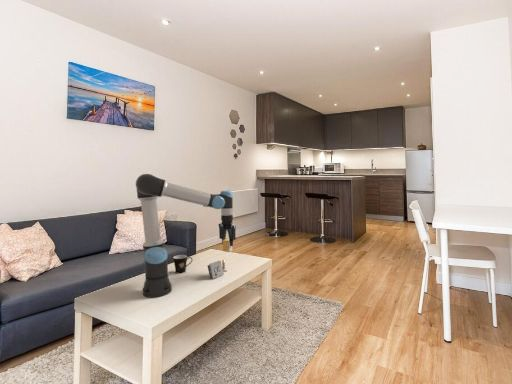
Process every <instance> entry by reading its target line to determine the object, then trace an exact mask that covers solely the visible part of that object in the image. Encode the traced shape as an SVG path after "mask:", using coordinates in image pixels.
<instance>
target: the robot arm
mask: <svg viewBox="0 0 512 384" xmlns="http://www.w3.org/2000/svg"><path fill="white" fill-rule="evenodd" d="M135 188H136V196H137V199H138V200H139V201H140V207H141V215H142V223H143V224H142V225H143V233H144V234H143V235H144V242H143V243H142V250H143V260H144V273H145V274H144V276H145V277H144V278H145V280H144V284H143V286H142V296H144V297H145V298H146V297H147V298H158V297H163V296H166V295H168V294H170V293H171V292H172V291H173V289H172V288H173V286H172V283H171V281H170V278H169V272H168V271H169V270H168V265H169V264H168V257H169V256H168V251H167V249H166V248H165V244H164V243H165V241H163V240H162V238H161V231H160V229H161V228H160V220H159V211H158V203H157V199H158V198H161V197H167V198H171V199H175V200H179V201H183V202H188V203H192V204H197V205H200V206H202V207H204V208H213V209H214V210H220V215H221V216H220V220H221V222H220V223H218V229H219V231H218V232H219V233H218V234H219V235H218V236H219V239H221V244H222V246H223V240H225V239H227V237H226V236H227V234H228V239H229V240H230V241H229V252H232V251H233V245H234V241H236V228H237V225H236V224H234V223H233V220H234V216H233V214H234V213H233V212H234V209H233V207H234V206H233V204H234V203H233V197H234V196H233V192H232V190H221V191H220V193H217V194H215V193H214V194H212V193H210V192H209V193H208V192H205V191H201V190H197V189H193V188H189V187H187V186H182V185H179V184H174V183H171V182H167V180H166V179H163V178H159V177H157V176H155V175H153V174H152V173H151V174H150V173H143V174H141V175H139V176H138V177H137V178H136V180H135Z"/></svg>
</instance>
